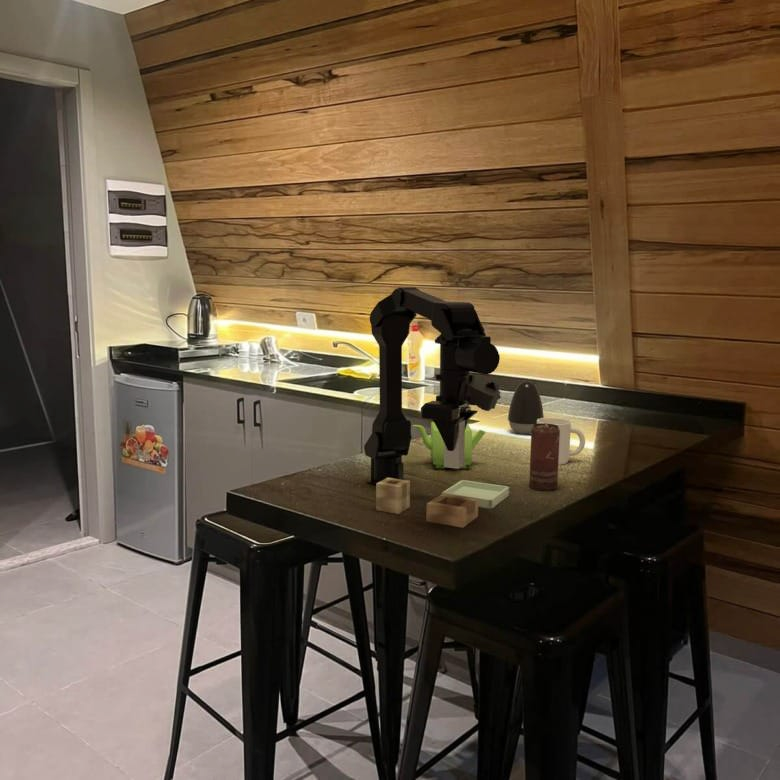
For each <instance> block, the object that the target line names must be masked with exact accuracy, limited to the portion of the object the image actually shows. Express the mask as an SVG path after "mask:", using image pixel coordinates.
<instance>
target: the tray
mask: <svg viewBox="0 0 780 780" xmlns="http://www.w3.org/2000/svg"><path fill="white" fill-rule="evenodd" d="M510 491H511V487H510V486H506V485H498V484H492V483H486V482H480V481H473V480H466V479H461V480H460V481H458V482H456V483H454V484H453V485H451V486H450V487H449V488H446V489H445V490H444V491H442V492H441V494H448V495H455V496H461V497H467V498H474V499H478V508H482V509H488V510H492V509H493V508H495V507H496V506H497V505H498V504H500V503H501V502H502V501H504V500H505V499H506V498H507V497H509V496H510V494H511V493H510Z"/></svg>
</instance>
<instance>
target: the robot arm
mask: <svg viewBox="0 0 780 780" xmlns="http://www.w3.org/2000/svg"><path fill="white" fill-rule="evenodd" d="M417 315H419V316H421V317H424V318H425V319H428V320H430V324H431V326H432V327H433V328H434V329H435V330H436V331H437V332H439V333H440V334H439V335H438V336H437V337H436V338H435V339H434V343H435V344H437V345H439V373H438V374H435V380H436V381H439V394H438V395H436V396H435V400H431V401H428V402H425V403H424V404H423V405H422V406H421V407H420V419H424V420H432V422H434V423H435V425H436V427H437V429H438V430H439V432H440V434H441V437H442V439H443V441H444V443H445V445H446V448H447V450H448V451H453V450H454V446H455V440H456V433H457V426H458V424H459V423H460V422H461V421H462V420H465V429H466V426H467V423H468V424H469V420H470V419H471V418H472V417H473V416H474V415H476V414H477V413H478V410H473V409H472V407H471V406H477V408H478V409H481V410H482V411H485V412H490V411H491V410H492V409H493V410H494V409H495V408H496V405H497V402H498V401H499V400H500V399H501V391H500V390H499V389H500V387H499V383H497V382H495V381H492V380H490V381H487V383H486V384H484V383H478V382H476V376H475V374H474V373H476V374H481V375H484V376H485V375H490V374H492V373H493V372H495V371H496V370H497V368H498V366H499V364H500V359H501V357H500V354H499V350H498V348H497V347H496V346H495V345H494V344H492V342H491V340H492V339H491V336H488V335H487V334H486V333H485V328H484V326H483V325H482V323H481V320H480V318H479V314H478V313H477V311H476V309H475V305H473V304H472V303H471V302H466V301H449V300H444V299H442V298H439V297H437V296H434V295H433V294H429V293H428V292H427V293H426V292H424V291H422V290H420V289H419V288H417V287H414V286H409V287H408V286H407V287H404V286H403V287H400V286H399V287H397V288H395V289H394V290H393V291H392V293H390V294H389V295H388V296H386V297H385V298H383V299H381V300H380V301H378V302H377V303H376V304H375V306H374V308H372V311H371V312H370V314H369V322H370V329H371V334H372V336H373V338H374V340H375V341H376V343H377V344H378V350H379V351H378V353H379V356H378V357H379V358H378V359H379V361H378V362H379V363H378V364H379V376H378V377H379V412H378V413H377V415H376V417H375V419H374V420H373V422H372V429H371V434H370V436H369V438H368V439H367V440H366V442H365V444H364V446H363V448H364V456H366V457H368V458H370V479H368V480H366V483H367V484H370V485H376V483H378V482H380V481H382V480H384V479H386V478H394V479H401V480H406V478H404V465H405V464H404V462H402V461H403V457H406V456H408V455H409V451H410V446H411V442H412V439H413V437H412V432H411V431H412V422H411V420H410V419H407V417H406V416H405V414H404V413H403V353H402V352H403V350H402V349H403V345H404V343H405V342H406V340H407V338H408V336H409V335H410V327H411V326H410V325H411V323H412V322H413V321H414V320H415V319H416V317H417Z"/></svg>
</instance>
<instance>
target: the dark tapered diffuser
mask: <svg viewBox="0 0 780 780" xmlns="http://www.w3.org/2000/svg"><path fill="white" fill-rule="evenodd" d="M536 384H537V383H536V381H529V380H525V381H522V382H520V383H519V384H518V386H517V387H516V388H515V390H514V392H513V395H512V399H511V401H510V404H509V409H508V415H507V420H508V424H509V426H510V429H512V431H513V432H515V433H517V434H520V435H531V429H532V428H533V425H534V424H537V420H538V419H540V418H545V417H544V408H543V407H544V406H543V402H542V399H541V394H540V392H539V390H538V387H537V385H536Z"/></svg>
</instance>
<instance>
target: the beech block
mask: <svg viewBox="0 0 780 780" xmlns="http://www.w3.org/2000/svg"><path fill="white" fill-rule="evenodd" d="M375 485H376V486H375V487H376V489H375V492H376V493H375V497H376V498H375V511H379V512H380V511H381V512H385V513H391V514H396V515H399V514H400V513H402V512H404V511H406V510H408V509H409V508H410V507H411V506H410V503H411V501H410V500H411V499H410V497H411V494H410V492H411V491H410V490H411V486H410V485H411V481H410V480H407V479H405V480H401V479H394V478H386V479H384V480H382V481H380V482H378V483H376V484H375Z"/></svg>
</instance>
